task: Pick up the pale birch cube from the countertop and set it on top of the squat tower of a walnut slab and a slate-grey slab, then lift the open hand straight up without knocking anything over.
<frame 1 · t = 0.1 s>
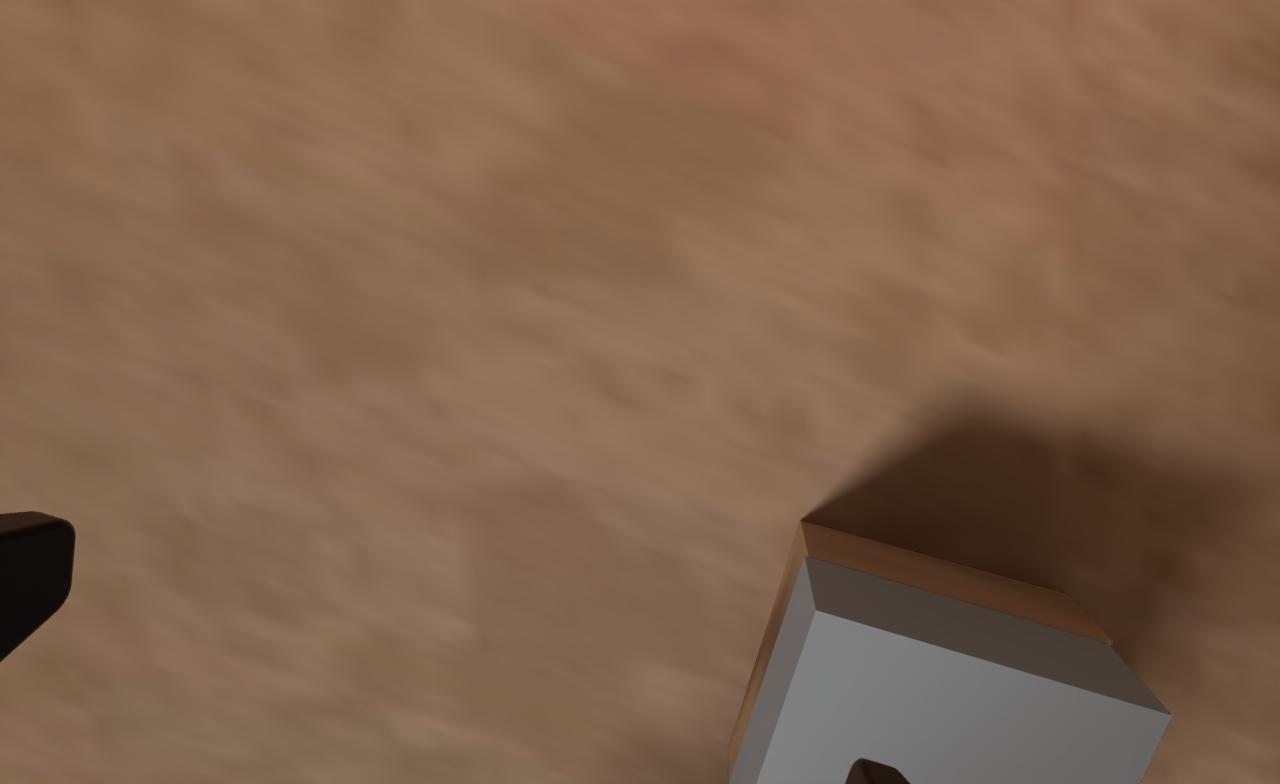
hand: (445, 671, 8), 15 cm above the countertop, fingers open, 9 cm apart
slate block: (903, 728, 21), point 3 cm above the countertop, touching walnut block
walnut block: (888, 667, 24), on the countertop, touching slate block
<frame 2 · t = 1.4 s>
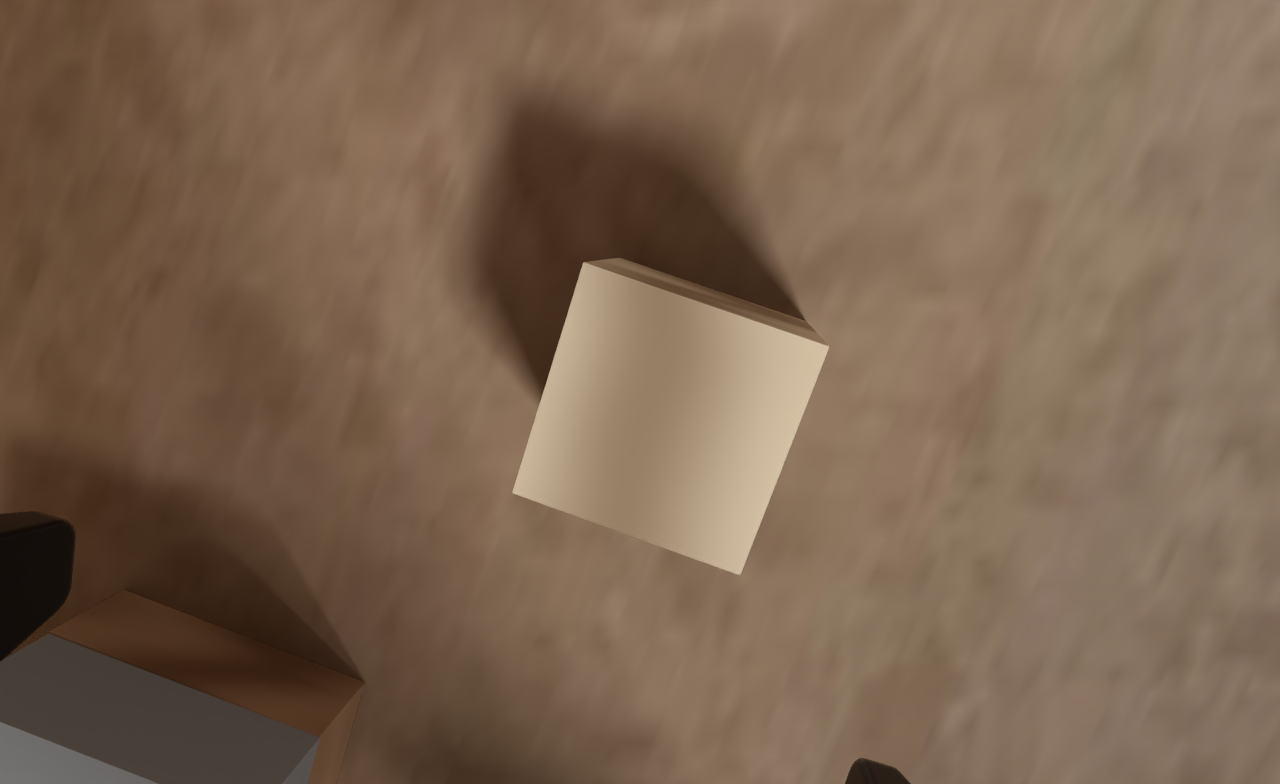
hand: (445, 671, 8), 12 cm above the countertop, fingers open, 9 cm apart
birch cube: (681, 379, 20), on the countertop
walnut block: (225, 736, 24), on the countertop, touching slate block
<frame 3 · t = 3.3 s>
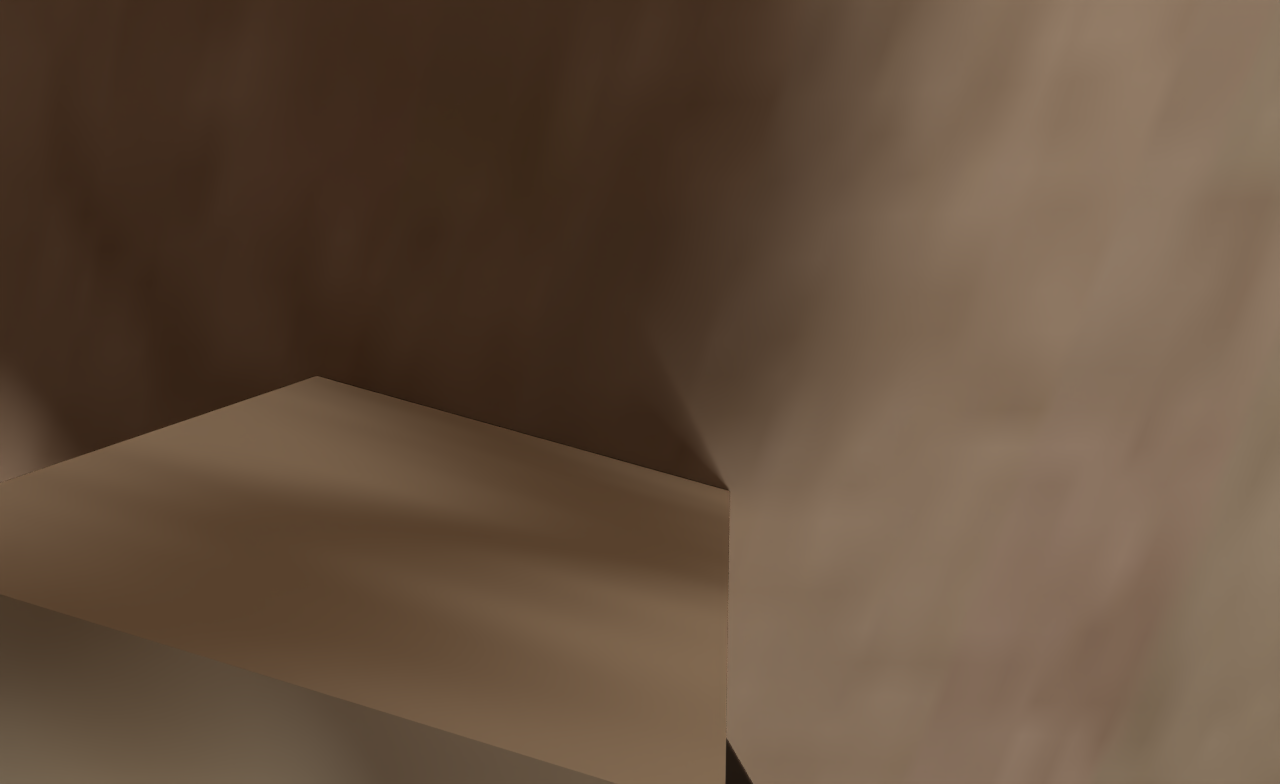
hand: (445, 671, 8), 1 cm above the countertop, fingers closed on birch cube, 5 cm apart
birch cube: (477, 622, 9), on the countertop, touching gripper
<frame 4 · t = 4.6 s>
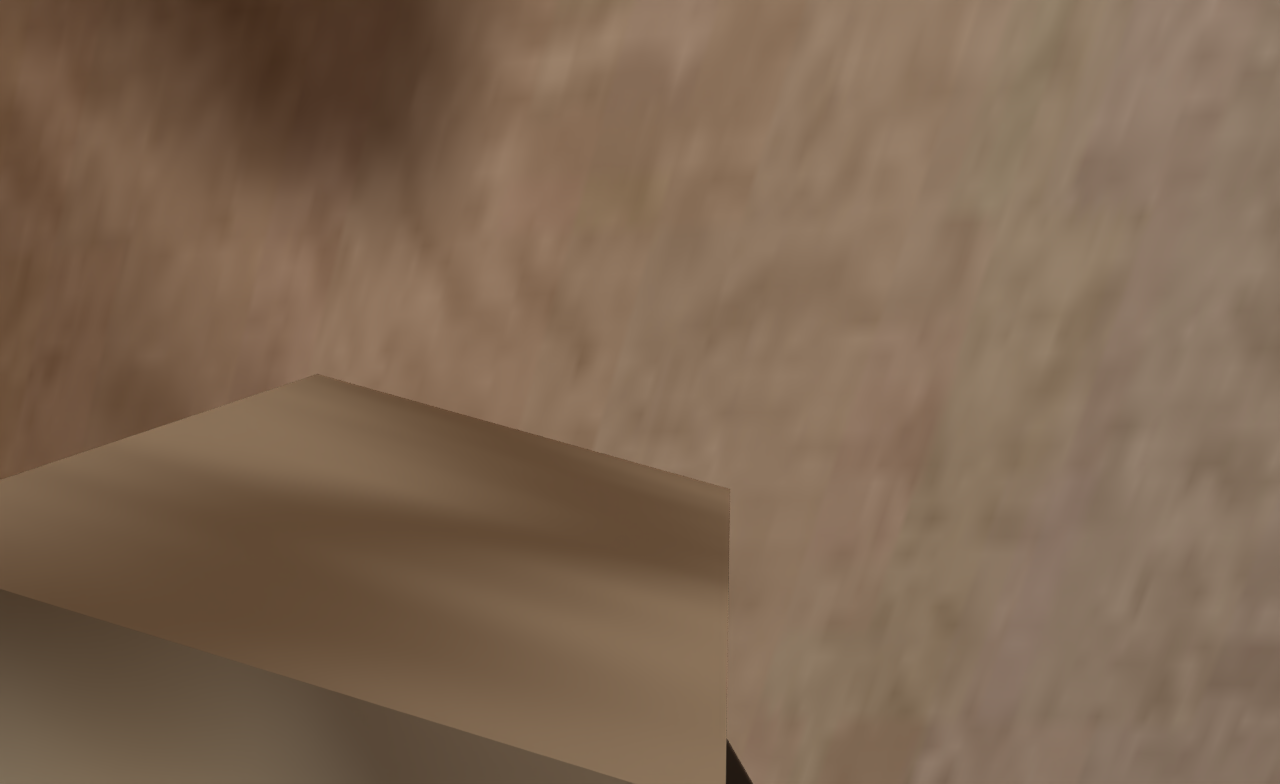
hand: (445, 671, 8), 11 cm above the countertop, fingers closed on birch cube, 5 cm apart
birch cube: (477, 620, 9), point 10 cm above the countertop, touching gripper
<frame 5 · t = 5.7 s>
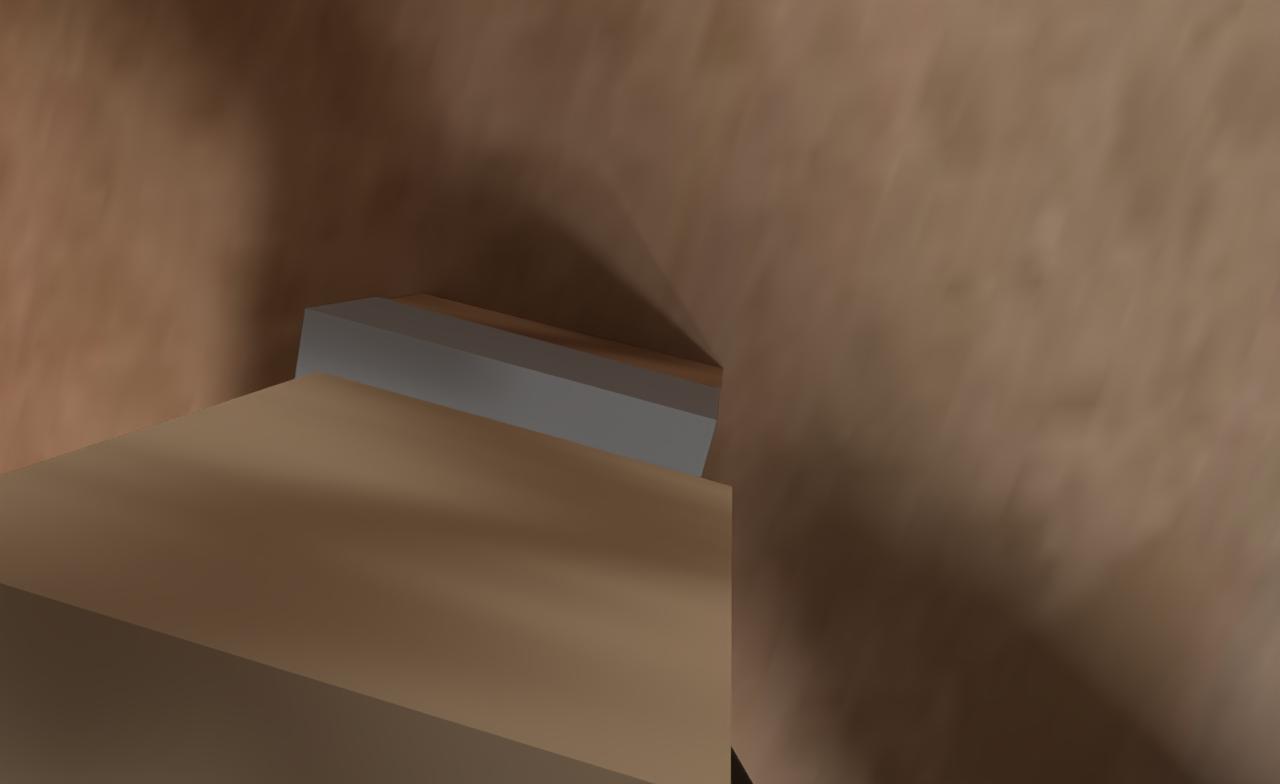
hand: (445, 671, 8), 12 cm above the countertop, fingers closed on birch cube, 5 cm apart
birch cube: (479, 618, 9), point 11 cm above the countertop, touching gripper
slate block: (509, 505, 18), point 3 cm above the countertop, touching walnut block
walnut block: (543, 470, 21), on the countertop, touching slate block
when the fingers open (8 cm above the countertop, at t = 7.1 s): birch cube drops 1 cm, resting on slate block.
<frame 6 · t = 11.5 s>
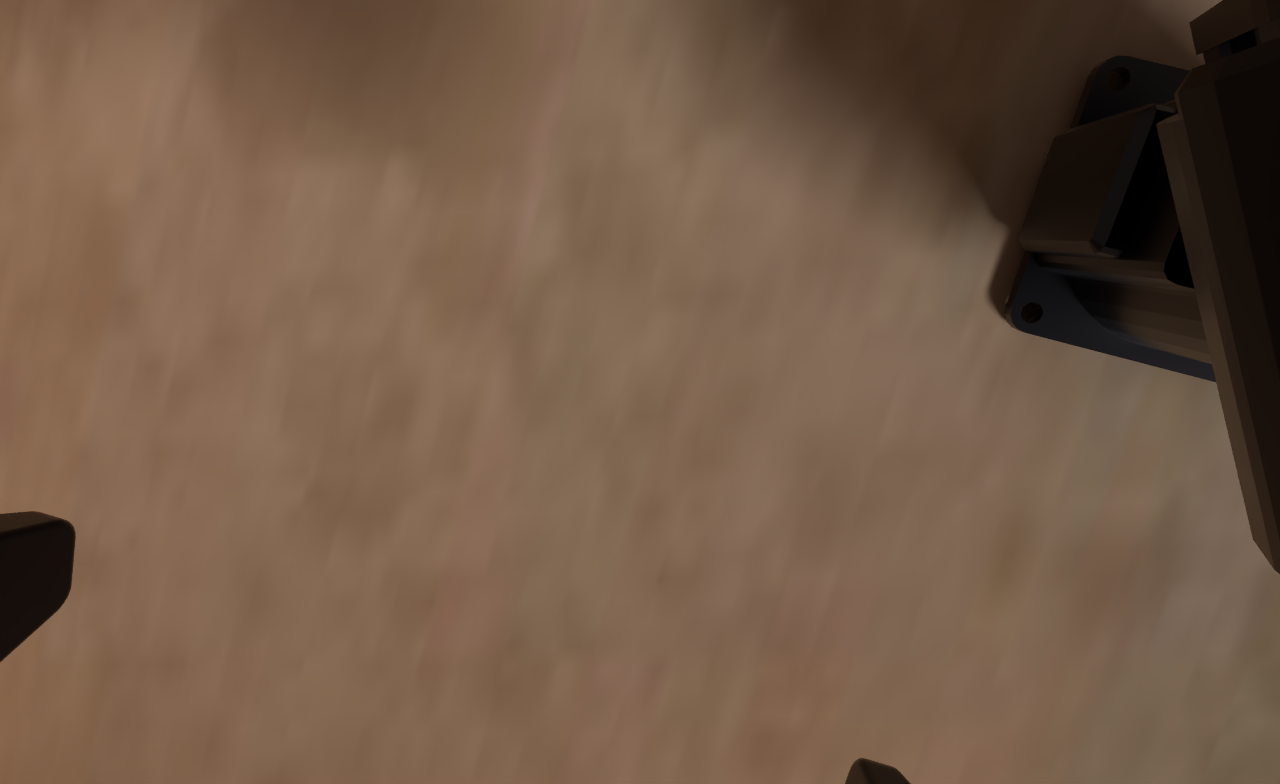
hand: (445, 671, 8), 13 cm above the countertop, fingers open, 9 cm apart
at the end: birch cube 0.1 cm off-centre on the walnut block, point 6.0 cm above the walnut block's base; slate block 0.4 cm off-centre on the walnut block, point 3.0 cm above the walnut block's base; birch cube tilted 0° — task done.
